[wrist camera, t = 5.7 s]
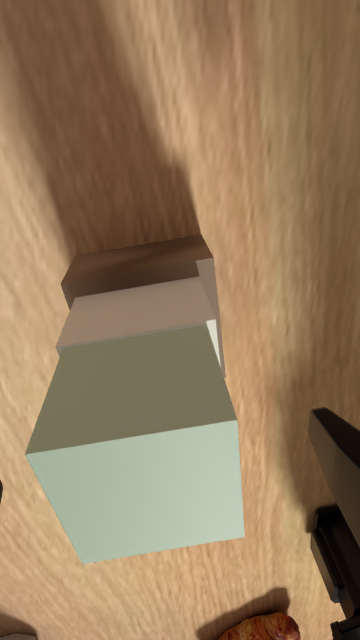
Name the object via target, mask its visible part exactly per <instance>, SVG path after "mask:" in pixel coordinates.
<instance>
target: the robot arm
mask: <svg viewBox="0 0 360 640" xmlns="http://www.w3.org/2000/svg"><path fill="white" fill-rule="evenodd" d="M309 436H310V439H311V442H312V444H313V447H314V449H315V452H316V454H317V457H318V460H319V462H320V465H321V467H322V470H323V472H324V475H325V478H326V480H327V483H328V485H329V488H330V490H331V492H332V494H333V496H334V498H335V500H336V502H337V504H338V506H333V507H328V508H322V509H319V510H317V511H316V513H315V522H314V529H313V531H312V536H311V547H310V548H311V550H312V553H313V556H314V558H315V561H316V563H317V566H318V568H319V571H320V573H321V576H322V578H323V581H324V583H325V586H326V588H327V591H328V594H329V596H330V599H331V601H333V602H334V603H340V605H341V607H342V609H343V612H344V614H345V617H346V620H343V621H341V622H338V621H336V622H334V623H331V624H330V626H331V629H332V636H333V640H360V430H358V429H357V428H355V427H354V426H352V425H351V424H349V423H348V422H346V421H345V420H343V419H342V418H341V417H339V416H338V415H336V414H335V413H333V412H332V411H330V410H329V409H327V408H325V407H322V408H316V409H312V410H311V411H310V416H309ZM2 492H3V485H2V482H1V480H0V503H1V497H2Z"/></svg>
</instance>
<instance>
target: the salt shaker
mask: <svg viewBox="0 0 360 640" xmlns="http://www.w3.org/2000/svg"><path fill="white" fill-rule="evenodd" d="M0 640H37V639H36V638H35V637H34V636H33V635H26V634H19V633H14V634H10V635H7V636H3V637H0Z"/></svg>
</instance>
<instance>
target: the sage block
mask: <svg viewBox="0 0 360 640" xmlns="http://www.w3.org/2000/svg"><path fill="white" fill-rule="evenodd" d="M25 456H26V458H27V460H28V462H29V463H30V465H31V467H32V469H33V471H34V473H35V475H36V477H37V479H38V481H39V482H40V484H41V486H42V488H43V490H44V492H45V494H46V496H47V498H48V500H49V501H50V503H51V505H52V507H53V509H54V511H55V513H56V515H57V517H58V519H59V520H60V522H61V524H62V526H63V528H64V530H65V532H66V534H67V536H68V538H69V539H70V541H71V543H72V545H73V547H74V549H75V551H76V553H77V555H78V557H79V558H80V560H81V562H82V564H87V563H93V562H99V561H105V560H111V559H117V558H122V557H128V556H134V555H140V554H146V553H152V552H158V551H164V550H170V549H176V548H181V547H187V546H193V545H199V544H205V543H211V542H217V541H223V540H229V539H235V538H241V537H245V534H244V518H243V502H242V486H241V471H240V455H239V439H238V424H237V417H236V414H235V411H234V408H233V405H232V402H231V399H230V396H229V392H228V389H227V386H226V383H225V380H224V377H223V374H222V370H221V367H220V364H219V361H218V358H217V355H216V352H215V349H214V345H213V342H212V339H211V336H210V333H209V330H208V327H207V325H204V326H197V327H191V328H185V329H179V330H172V331H166V332H160V333H153V334H147V335H141V336H134V337H128V338H122V339H116V340H109V341H103V342H97V343H90V344H84V345H78V346H72V347H65V348H63V350H62V353H61V356H60V359H59V361H58V364H57V367H56V370H55V373H54V375H53V378H52V381H51V384H50V386H49V389H48V392H47V395H46V397H45V400H44V403H43V406H42V409H41V411H40V414H39V417H38V420H37V422H36V425H35V428H34V431H33V433H32V436H31V439H30V442H29V445H28V447H27V450H26V453H25Z"/></svg>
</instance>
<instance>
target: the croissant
mask: <svg viewBox="0 0 360 640" xmlns="http://www.w3.org/2000/svg"><path fill="white" fill-rule="evenodd" d="M218 640H300V632H299V627H298V625H297V624H296V622H295V621H294V620H293V619H292V618H291V617H290V616H287V615H285V614H283V613H280V612H277V613H273V614H270V615H260V616H254V617H251V618H247V619H244V620H243V621H242V622H241V624H238V625H237V626H234V627H232V628H230V629H228V630H227V631H225V632H224V633H223V634H222V635H221V637H220V638H219V639H218Z"/></svg>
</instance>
